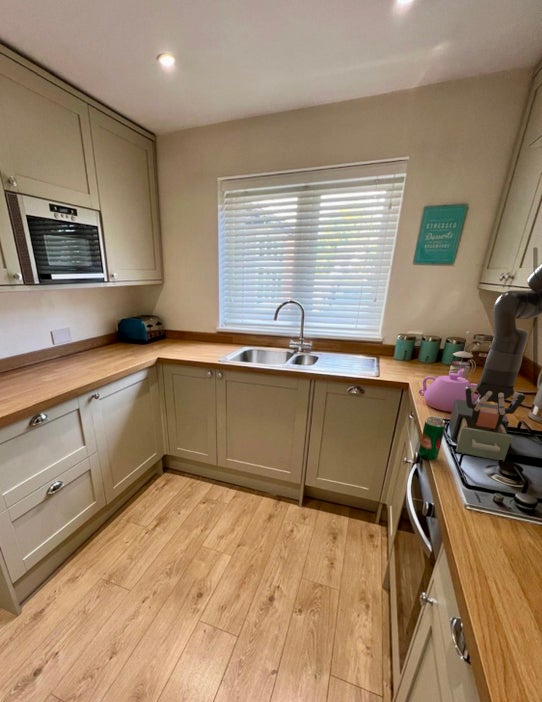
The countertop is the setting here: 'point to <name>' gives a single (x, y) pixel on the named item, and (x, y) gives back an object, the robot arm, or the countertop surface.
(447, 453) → the countertop surface
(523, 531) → the countertop surface
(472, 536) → the countertop surface
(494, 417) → the block
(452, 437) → the cabinet
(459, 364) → the french press
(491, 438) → the drawer
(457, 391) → the teapot
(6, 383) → the countertop surface
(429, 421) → the soda can
